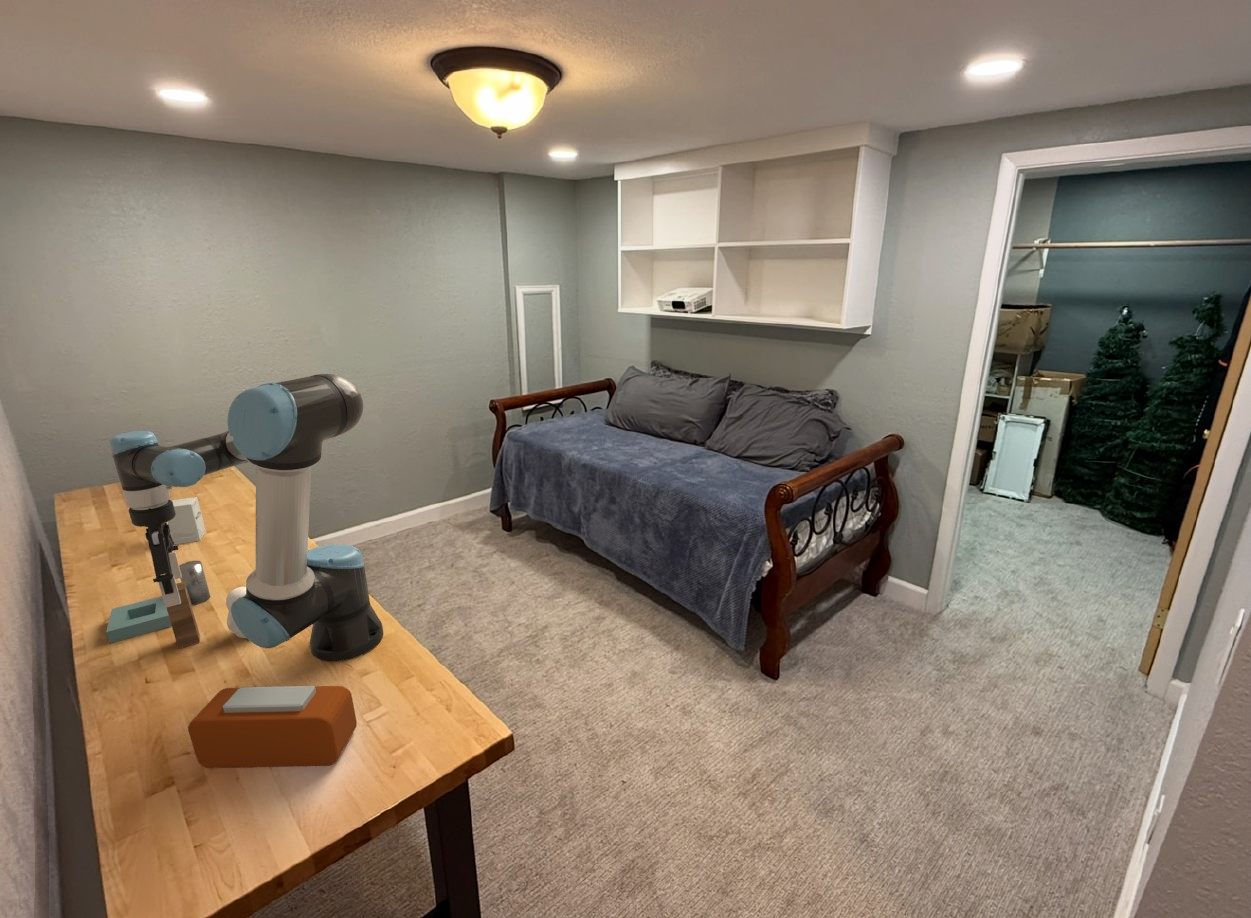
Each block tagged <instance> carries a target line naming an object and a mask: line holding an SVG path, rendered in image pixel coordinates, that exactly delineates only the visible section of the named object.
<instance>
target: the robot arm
mask: <svg viewBox="0 0 1251 918" xmlns="http://www.w3.org/2000/svg"><path fill="white" fill-rule="evenodd" d="M363 412H364V400H363V397H362V394H361V393H360V390H358V388H357V387H356V385H354V384H353V383H352V382H351V381H350V380H349V379H346V378H345V377H342V376H341V375H336V374H331V373H318V374H314V375H310V376H304V377H300V378H295V379H289V380H285V381H279V382H267V383H262V384H260V385H257V386H255V387H252V388H248V389H245V390H243V391H242V392H241V393H239V394H238V395H236V396H235V397H234V398H233V401H232V402H231V403H230V407H229V409H228V413H227V421H226V422H227V430H226V431H223V432H221V433H218V434H214V435H211V436H207V437H204V438H203V437H202V438H198V439H195V440H192V441H187V442H183V443H180V444H175V445H172V446H171V445H170V446H164V445H160V444H159V441H158V439H157V437H156V435H155V434H154V432H153V431H149V430H136V431H135V430H134V431H127V432H122V433H119V434H115V435H114V436H112V437H111V438H110V441H109V444H110V449H111V457H112V459H113V463H114V465H115V469H116V472H117V475H118V478H119V482H120V485H121V490H122V493H123V494H122V495H123V497H124V501H125V504H126V507H128V508H129V509H128V514H129V517H130V521H131V524H132V525H133V526H135V527H140V528H141V527H144V528H145V532H144V533H145V539H146V540H147V543H148V548H149V549H148V550H150V555H151V559H152V565H153V569H154V574H155V578H153V579H152V581H153V583H158V586H159V590H160V593H161V596H162V597H163V601H164V604H165V608H166V607H170V606H174V605H178V604H181V600H180V596H179V593H178V589H177V585H176V583H177V581H176V580H178V579H180V578H182V575H181V571H180V567H179V565H180V564H179V561H178V556H177V553H176V551H178V550H179V544H175V545H174V542H173V539H172V536H171V533H170V527H169V524H168V521H170V520H172V519H173V518H174V517H175V515H176V513H175V509H174V505H173V502H172V501H171V499H172V496H171V493H170V490H172V489H173V488H188V487H191V486H194V485H195V484H197V483H198V482H199V481H200V480H201V479H203V477H204V476H207V475H210V474H213V473H216V472H220V471H222V470H225V469H228V468H232V467H233V468H234V467H235V466H238V465H243V464H247V463H249V464H251V465H252V466H254V467H255V569H254V570H252V571H251V572H250V573H249V574H248V576H247V578H246V583H245V587H246V595H245V596H243V597H239V598H238V599H237V600H236V601H235V602H233V604H232V606H231V614H232V617H233V620H234V622H235V624H236V626H237V627H238V629H239V630H240V631H241V632H242V634H243V635H244V636H245V637H246V638H245V639H247V640H248V641H250V642H251V643H252V644H254V646H257V647H259V648H262V649H273V648H276V647H277V646H279V645H281V644H284V643H285V642H288V641H290V639H292V638H293V637H295V636H296V635H298V634H300V633H301V632H303V631H304V630H305V629H307V628H308V627H311V626H312V628H311V633H310V637H309V638H310V639H309V647H310V652H311V655H312V657H314V659H317V660H320V661H323V662H328V663H329V662H331V663H332V662H333V663H334V662H343V661H348V660H351V659H355V658H357V657H359V656H362V655H364V654H367V653H369V652H370V651H372V650H373V649H374V648H375V647H377V646H378V645H379V643H381V641H382V639H383V638H384V637H383V636H384V627H383V623H382V621H381V619H380V618H379V616H378V614H377V613H376V611H375V609H374V607H372V605H371V601H370V595H369V593H370V592H369V588H368V581H367V576H366V570H365V569H366V568H365V566H366V565H365V563H364V559H363V555H362V552H361V551H360V549H359V548H357V547H355V546H353V545H349V544H327V545H321V546H317V547H313V548H311V549H309V550H308V547H309V543H308V542H309V528H310V527H309V525H310V523H309V522H310V505H311V503H310V502H311V480H312V479H311V478H312V468H313V467H315V466H316V465H317V464H319V463H320V461H321V460H322V449H323V442H324V441H326V440H329V439H333V438H335V437H338V436H341V435H344V434H346V433H347V432H349V431H351V430H352V429H353V428H354V427H356V426H357V424H358V423H359V422H360V420H361V418H362V416H363Z"/></svg>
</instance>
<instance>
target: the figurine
mask: <svg viewBox="0 0 1251 918" xmlns="http://www.w3.org/2000/svg"><path fill="white" fill-rule="evenodd" d="M245 595H246V586H238V587H236V588H233V589H232V590H231V591H230V592H229V593H228V594H227V596H226V599H225V600H226V601H225V604H226V605H225V606H226V608H227V610H228V613H227V618H226V625H227V629H229V631H231V632H232V633H234V635H236V636H237V637H238V638H240V639H247V638H246V637H245V636H244V635H243V634H242V632H241V631H240V630H239V629H238V627H237V626H236V624H235V622H234V620H233V617H232V614H231V606H232V604H233V602H235V601H236V600H237V599H238V598H239V597H243V596H245Z"/></svg>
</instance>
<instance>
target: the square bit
mask: <svg viewBox="0 0 1251 918" xmlns="http://www.w3.org/2000/svg"><path fill="white" fill-rule="evenodd" d="M176 585H177V589H178V593H179V596H180V600H181V604H178V605H174V606H170V607H166V608H167V611H168V615H169V618H170V622H171V625H172V626H171V629H172V632H173V635H174V640H175V642H176V645H177V649H183V648H186V647H190V646H192V645H195V644H200V637H201V636H200V632H199V627H198V623H197V620H196V616H195V612H194V610H193V609H194V608H193V605H191V601H190V598H189V594H188V590H187V587H186V583H185V582H181V581H180V582H178V583H177V582H176Z"/></svg>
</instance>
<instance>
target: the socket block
mask: <svg viewBox="0 0 1251 918" xmlns="http://www.w3.org/2000/svg"><path fill="white" fill-rule="evenodd" d="M170 627H171V628H172V625H171V622H170V618H169V615H168V611H167V608H165V604H164V601H163V597H162V595H161V596H158V597H154V598H150V599H145V600H142V601H137V602H134V603H130V604H126V605H122V606H119V607H114V608H111V612H110V615H109V619H108V623H107V627H106V632H105V633H106V636H107V639H108V642H109V644H112V643H116V642H119V641H123V640H127V639H131V638H134V637H138V636H142V635H145V634H149V633H152V632H156V631H160V630H163V629H167V628H170Z"/></svg>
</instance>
